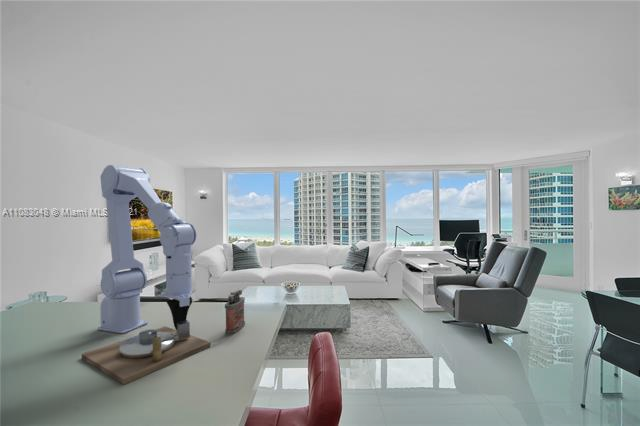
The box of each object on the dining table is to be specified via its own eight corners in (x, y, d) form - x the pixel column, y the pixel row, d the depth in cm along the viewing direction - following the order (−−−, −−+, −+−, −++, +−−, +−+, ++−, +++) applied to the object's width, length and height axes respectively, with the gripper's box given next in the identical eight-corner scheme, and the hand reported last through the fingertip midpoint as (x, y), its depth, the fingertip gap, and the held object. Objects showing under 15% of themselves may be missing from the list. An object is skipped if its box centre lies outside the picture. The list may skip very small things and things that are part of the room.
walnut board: (81, 358, 69) (81, 333, 69) (165, 329, 85) (164, 309, 85) (124, 384, 58) (123, 355, 58) (210, 346, 74) (210, 323, 74)
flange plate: (117, 345, 72) (116, 328, 72) (182, 329, 81) (181, 315, 81) (122, 363, 64) (122, 344, 64) (195, 344, 73) (194, 327, 73)
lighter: (234, 335, 81) (233, 296, 81) (222, 334, 82) (221, 295, 81) (247, 323, 89) (247, 288, 89) (236, 322, 89) (236, 287, 89)
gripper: (157, 270, 81) (158, 322, 81) (164, 280, 69) (166, 342, 69) (186, 266, 85) (187, 317, 85) (198, 276, 73) (199, 335, 73)
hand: (179, 328), depth 77 cm, fingers closed, pressing on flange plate
